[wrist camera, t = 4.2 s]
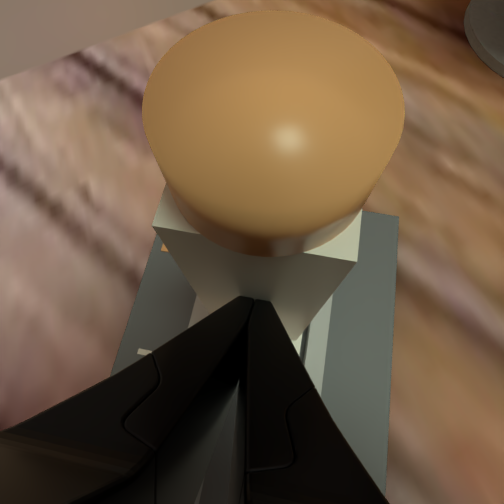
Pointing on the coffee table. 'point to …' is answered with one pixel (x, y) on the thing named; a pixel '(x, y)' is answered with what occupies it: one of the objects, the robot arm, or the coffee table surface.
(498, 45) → the mate gourd
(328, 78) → the fader knob
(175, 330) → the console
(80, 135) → the coffee table surface
